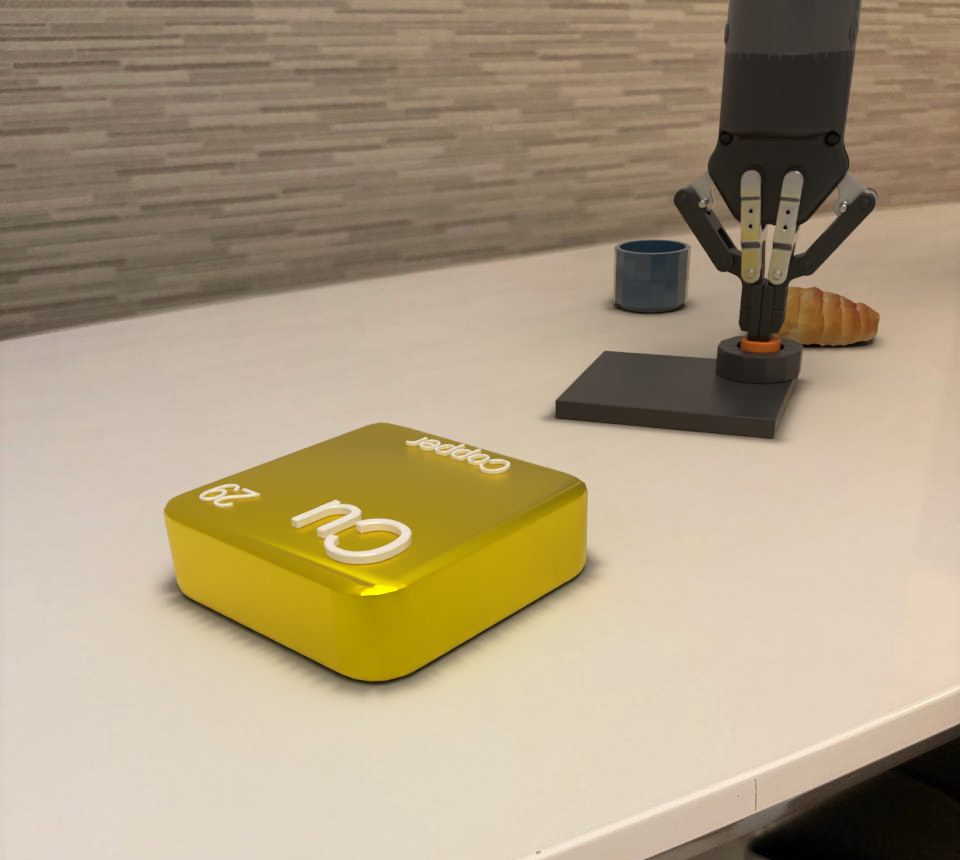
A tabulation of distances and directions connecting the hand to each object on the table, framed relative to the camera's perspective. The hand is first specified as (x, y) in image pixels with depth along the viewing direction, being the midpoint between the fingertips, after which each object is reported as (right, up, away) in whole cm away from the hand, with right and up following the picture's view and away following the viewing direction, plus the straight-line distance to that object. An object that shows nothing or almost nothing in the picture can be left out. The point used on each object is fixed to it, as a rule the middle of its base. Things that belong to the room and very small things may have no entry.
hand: (759, 338), depth 73 cm
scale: (-5, -4, 0) cm, 7 cm away
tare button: (0, -2, +1) cm, 2 cm away
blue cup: (-4, +9, +23) cm, 25 cm away
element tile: (-23, -17, -21) cm, 36 cm away
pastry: (+7, +3, +13) cm, 15 cm away
